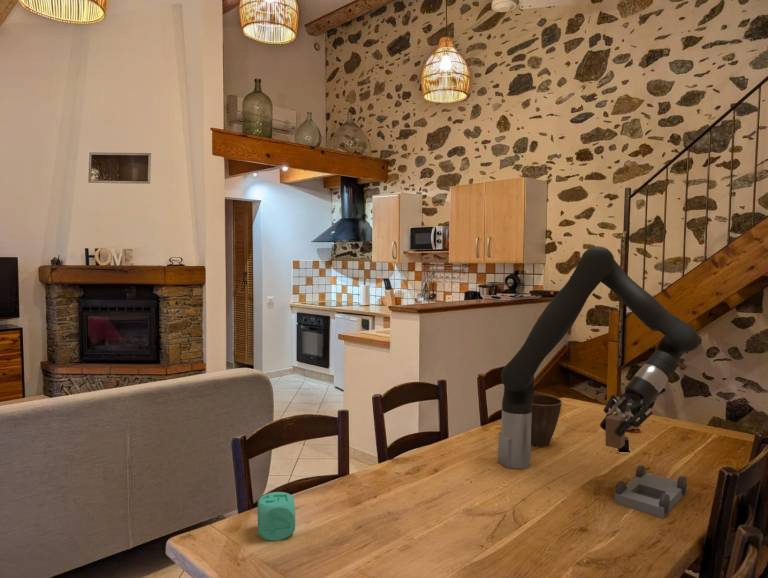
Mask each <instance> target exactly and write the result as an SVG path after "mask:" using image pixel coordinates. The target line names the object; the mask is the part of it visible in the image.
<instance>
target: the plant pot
mask: <svg viewBox="0 0 768 578" xmlns="http://www.w3.org/2000/svg"><path fill="white" fill-rule="evenodd" d="M562 403H563V402H562V400H561V399H560V398H558V397H555V396H552V395H547V394H538V393H533V404H532V424H531V446H532V445H533V446H532V447H536V446H539V447H538V448H545V446H546V447H548V446H549V445H550V443H551V440H552V438H553V435H554V433H555V432H556V431H555V430H556V428H557V425H558V421H559V417H560V413H561V410H562V409H561V408H562Z"/></svg>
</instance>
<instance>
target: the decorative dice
mask: <svg viewBox="0 0 768 578" xmlns="http://www.w3.org/2000/svg"><path fill="white" fill-rule="evenodd" d="M295 530H296V505H295V499H294V496H293V495H291V494H290V493H288V492H286V491H285V492H284V491H273V492H269V493H266V494H264V495H262V496H261V497H260V498H259V499H258V500H257V534H258V537H260V538H261V539H263V540H265V541H269V542H276V541H283V540H285V539H288V538H289V537H291V535H293V534H294V532H295Z"/></svg>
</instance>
